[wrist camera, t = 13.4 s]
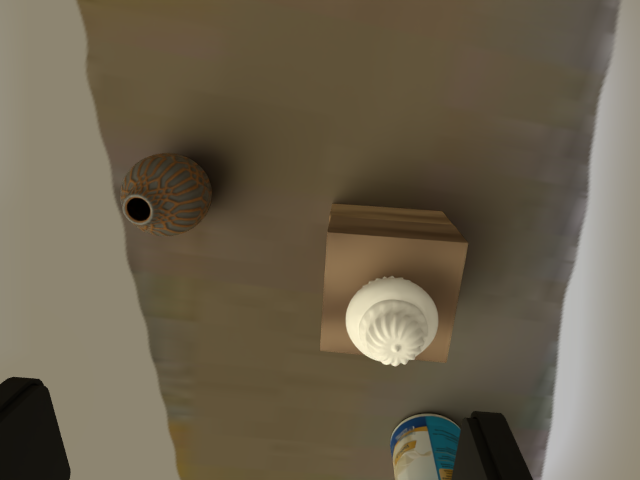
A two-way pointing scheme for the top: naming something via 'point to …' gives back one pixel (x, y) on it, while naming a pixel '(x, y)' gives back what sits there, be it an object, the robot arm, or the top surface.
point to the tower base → (389, 213)
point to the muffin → (391, 320)
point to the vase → (166, 194)
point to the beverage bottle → (424, 448)
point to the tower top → (391, 272)
